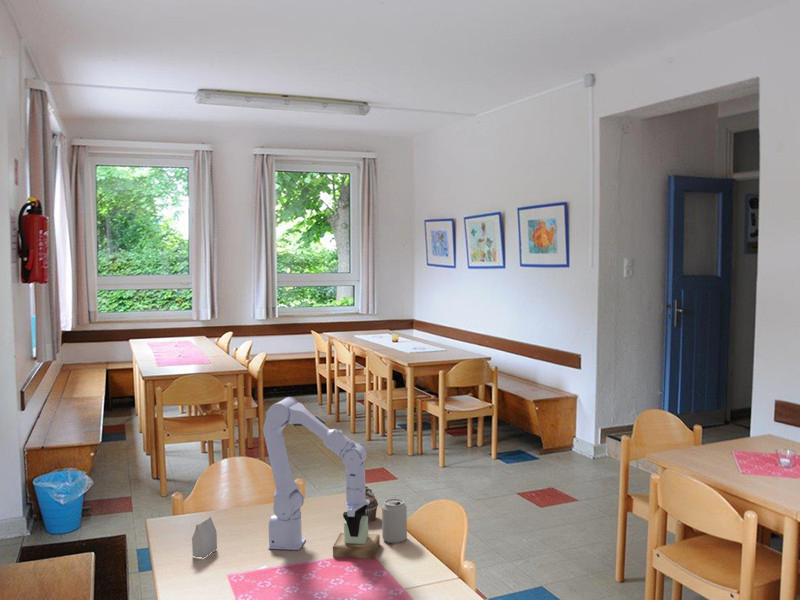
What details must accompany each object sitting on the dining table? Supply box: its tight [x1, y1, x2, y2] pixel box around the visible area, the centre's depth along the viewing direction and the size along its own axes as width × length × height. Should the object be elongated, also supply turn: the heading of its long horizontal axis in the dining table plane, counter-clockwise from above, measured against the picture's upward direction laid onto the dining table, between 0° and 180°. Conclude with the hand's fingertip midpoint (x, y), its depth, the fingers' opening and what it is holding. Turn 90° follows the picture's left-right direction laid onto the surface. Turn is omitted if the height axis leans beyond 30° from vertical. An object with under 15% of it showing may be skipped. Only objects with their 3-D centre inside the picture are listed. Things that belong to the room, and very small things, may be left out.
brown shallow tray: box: [332, 532, 381, 560], centre depth 208 cm, size 12×10×3 cm
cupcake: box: [364, 486, 379, 523], centre depth 233 cm, size 10×10×10 cm
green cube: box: [343, 516, 369, 544], centre depth 208 cm, size 6×6×6 cm
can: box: [381, 498, 408, 544], centre depth 215 cm, size 8×8×12 cm
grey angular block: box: [191, 516, 218, 558], centre depth 207 cm, size 4×7×10 cm, turn 160°
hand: (356, 531), depth 208 cm, fingers open, 6 cm apart
